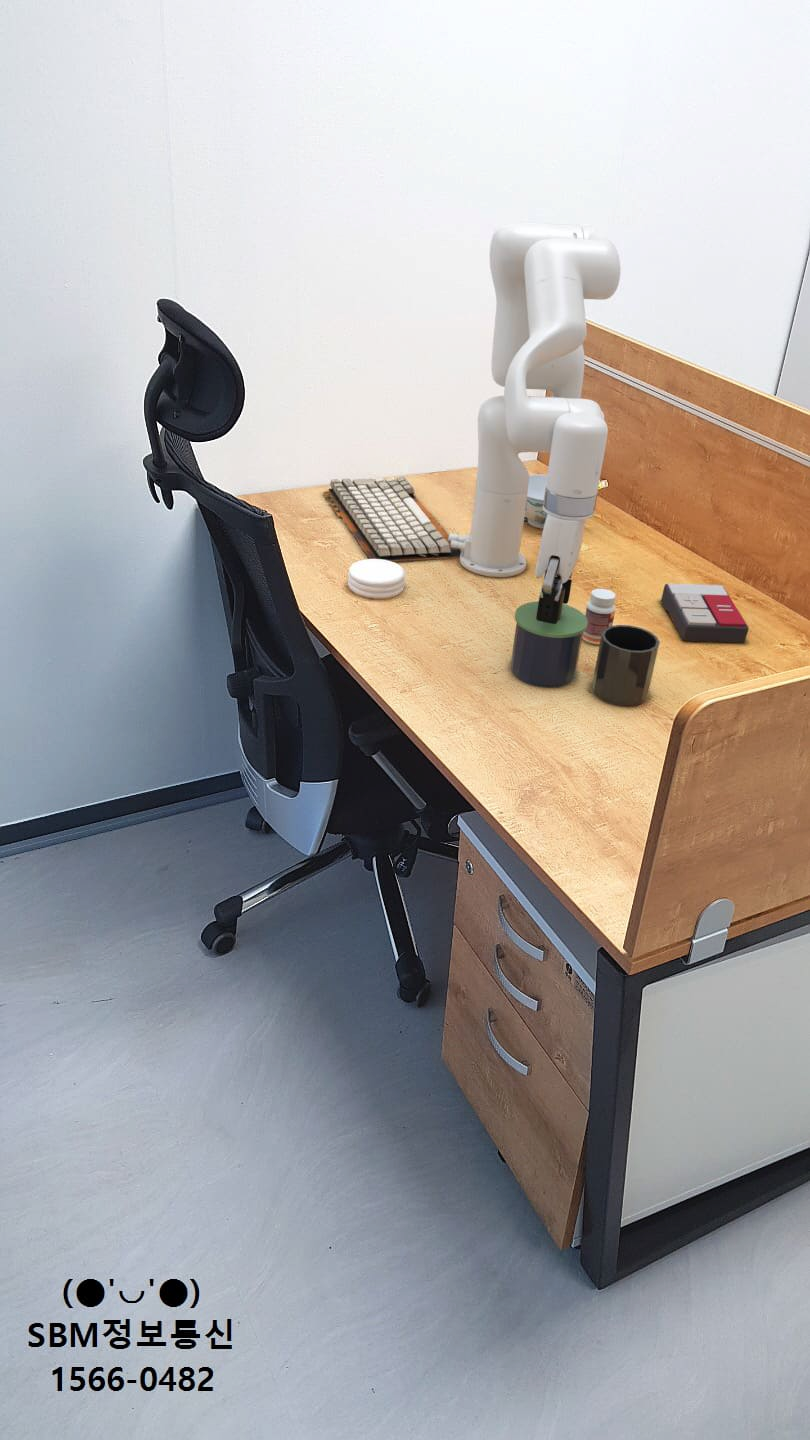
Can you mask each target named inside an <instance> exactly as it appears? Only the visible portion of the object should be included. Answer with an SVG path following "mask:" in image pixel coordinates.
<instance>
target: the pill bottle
mask: <svg viewBox="0 0 810 1440" xmlns="http://www.w3.org/2000/svg"><path fill="white" fill-rule="evenodd" d="M616 596H617V595H616V593H615V592H614V591H613V590H611V589H607V588H595V589H593V590H591V592H590V596H589V600H588V601H587V603H586V606H585V612H584V613H585V614H584V615H585V616H586V618H587V621H588V624H587V628H586V630H585V631H584V632H583V637H582V640H583V641H584V642H586V643H588V644H593V645H597V646H599V645H600V639H601V634H602V632H603V630H604V629H606V628H608V627H610V626H614V625H613V624H614V620H615V614H616V605H615V602H616V598H617V597H616Z"/></svg>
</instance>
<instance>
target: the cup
mask: <svg viewBox="0 0 810 1440" xmlns="http://www.w3.org/2000/svg"><path fill="white" fill-rule="evenodd" d="M660 643H661V642H660V640H659V638H658V636H657V635H655V634H654V633H653V632H652V631H650V630H648V629H645V628H643V627H639V626H634V625H630V624H616V625H612V626H610V627H608V628H606V629H604V630H603V632H602V634H601V639H600V645H598V650H597V656H596V661H595V666H594V672H593V676H592V677H593V678H592V682H591V691H592V693H593V695H594V696H595V698H597V699H599V700H600V701H602V702H604V703H606V704H608V705H611V706H616V707H621V708H622V707H623V708H626V707H627V708H631V707H637V706H640V705H642V704H644V703H646V701H647V700H648V696H649V693H650V688H651V684H652V680H653V675H654V670H655V666H656V662H657V657H658V654H659V653H658V652H659V648H660Z"/></svg>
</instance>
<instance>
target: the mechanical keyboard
mask: <svg viewBox="0 0 810 1440" xmlns="http://www.w3.org/2000/svg"><path fill="white" fill-rule="evenodd" d="M329 486H330V488H328V491H327V490H326V491H323V492H322V494H323V495H324V498H325V499H326V500H327V502H328V503H329V504H330V506H331V507H332V509H333V510H334V512H335V514H336V515H337V516H338V517H339V518H341V519H342V523H343V524H344V525H346V527H347V528H348V530H349V531H350V532H351V533H352V535H353V537H354V539H355V540H356V542H357V544H358V546H360V547H361V549H362V551H363V552H364V554H365V555H366V557H367V559H383V560H388V561H391V562H394V563H405V562H418V561H419V562H421V561H422V562H423V561H437V560H440V561H441V560H451V559H452V560H454V559H460V554H461V552H462V550H461V549H458V548H457V549H456V548H452V547H451V543H448V537H449V534H447V533H446V531H445V530H444V529H443V528H442V527H441V526H440V525H439V523H438V522H437V521H436V520H435V518H434V517H433V516H432V515H431V513H429V511H428V510H427V508H426V507H425V506H424V505H423V504H422V503H421V501H420V500H419V499H418V498H417V497H416V496H415V493H416V492H415V488H414V486H413V484H411V482H410V481H409V480H407V478H406V477H405V476H404V475H403V476H399V477H397V478H396V479H395V477H394V476H389V477H386V478H385V479H384V477H377V478H375V479H374V480H373V478H357V479H356V478H355V479H352V480H351V478H342V479H341V480H340V479H339V478H335V479H334V478H331V479H330V484H329Z"/></svg>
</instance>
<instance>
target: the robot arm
mask: <svg viewBox="0 0 810 1440" xmlns="http://www.w3.org/2000/svg"><path fill="white" fill-rule="evenodd" d="M489 267H490V268H489V269H490V274H491V275H490V276H491V279H492V284H493V287H494V292H495V301H496V302H495V305H496V306H495V317H494V327H493V337H492V338H493V339H492V351H491V365H490V366H491V375H492V379H493V381H494V382H495V383H496V384H497V385H498V386H499V387H504V391H503V395H497V396H496V395H495V396H492V397H490V398H488V399H486V400H485V401H484V402H483V403H482V404H481V405H480V407H479V409H478V414H477V438H478V439H477V440H478V456H477V469H476V480H475V488H474V489H475V490H474V499H473V506H472V507H473V509H472V516H471V527H470V534H465V535H460V534H459V533H453V532H450V533H449V534H448V536H449V537H448V543H451V547H452V548H456V549H457V548H458V549H460V550H461V554H460V558H459V563H460V564H461V566H462V567H463V568H464V569H466V570H468V571H470V572H471V573H474V574H477V575H480V576H485V577H492V578H507V577H514V576H517V575H520V574H521V573H522V572H524V571H525V570H526V568H527V559H526V557H525V556H524V555H523V554H522V553H520V552H521V544H522V537H523V530H524V523H525V508H526V501H527V494H528V486H529V475H530V474H529V470H528V468H527V467H526V465H525V463H524V462H523V460H522V459H521V458H520V457H519V454H522V453H549V460H548V467H547V473H546V475H547V480H546V487H545V494H544V501H543V510H544V512H546V513H547V517H546V521H545V525H544V529H542V534H541V539H540V544H539V549H538V555H537V560H536V566H535V571H534V577H535V578H536V579H542V578H543V581H542V584H541V589H540V594H539V596H538V601H539V602H538V609H537V616H536V619H537V620H538V621H542V622H546V623H551V624H556V623H557V621H558V616H559V609H560V603H561V599H559V597H560V593H561V588H562V586H563V587H564V588H565V594H564V600H563V604H565V605H568V603H569V602H570V595H571V589H572V584H573V583H572V582H573V579H572V577H573V573H574V572H573V571H574V570H575V568H576V567H577V564H578V562H579V559H580V555H581V554H580V553H581V549H582V545H583V539H584V533H585V528H586V527H585V526H586V520H590V519H591V518H593V517H594V515H595V512H596V511H595V509H596V504H597V498H598V494H599V493H598V492H599V486H600V480H601V474H602V469H603V463H604V459H605V453H606V452H605V451H606V446H607V440H608V434H609V427H608V424H607V422H606V420H605V413H604V412H603V411H602V408H601V407H600V405H599V403H598V402H596V401H595V400H593V399H588V398H582V391H583V383H584V377H585V376H584V375H585V366H586V365H585V364H586V363H585V361H586V360H585V359H586V358H585V350H584V345H583V343H584V342H585V340H586V338H587V334H588V330H587V329H588V328H587V321H586V319H587V318H586V312H585V310H586V309H585V300H597V301H599V300H602V301H605V300H608V299H610V298H612V297H613V296H614V294H615V293H616V291H617V290H618V287H619V284H620V280H621V260H620V256H619V252H618V250H617V247H616V246H615V244H614V242H613V241H612V240H611V239H610V238H609V237H608V236H606V234H604V233H603V232H601V231H600V230H599V229H598V228H596V227H594V226H593V227H592V226H588V225H578V224H577V225H576V224H560V223H547V222H532V221H531V222H529V221H527V222H526V221H525V222H524V221H523V222H522V221H521V222H509V223H505V224H503V225H500V226H499V227H498V228H496V229H495V231H494V232H493V234H492V236H491V240H490V245H489ZM527 390H541V391H543V390H544V391H545V390H546V391H551V394H552V395H551V396H531V395H528V392H527ZM554 584H558V585H557V590H556V589H555V588H554V587H553V586H554Z"/></svg>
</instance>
